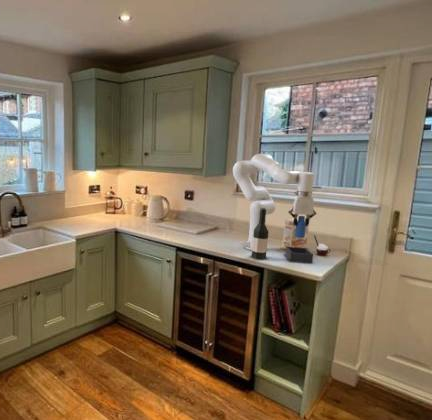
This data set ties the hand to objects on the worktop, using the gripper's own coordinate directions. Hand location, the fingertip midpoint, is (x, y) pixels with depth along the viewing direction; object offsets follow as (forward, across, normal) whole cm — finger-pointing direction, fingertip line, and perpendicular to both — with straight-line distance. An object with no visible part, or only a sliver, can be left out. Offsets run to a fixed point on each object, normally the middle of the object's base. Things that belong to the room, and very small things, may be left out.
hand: (300, 225), depth 206 cm
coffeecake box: (+22, +6, +28) cm, 36 cm away
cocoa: (+22, +18, +18) cm, 34 cm away
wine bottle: (+22, -21, +1) cm, 30 cm away
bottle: (+7, 0, 0) cm, 7 cm away
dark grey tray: (+21, +2, +6) cm, 22 cm away
